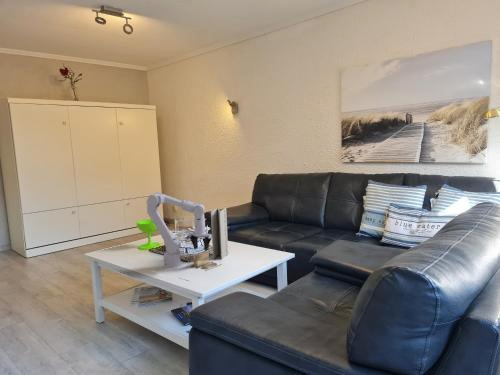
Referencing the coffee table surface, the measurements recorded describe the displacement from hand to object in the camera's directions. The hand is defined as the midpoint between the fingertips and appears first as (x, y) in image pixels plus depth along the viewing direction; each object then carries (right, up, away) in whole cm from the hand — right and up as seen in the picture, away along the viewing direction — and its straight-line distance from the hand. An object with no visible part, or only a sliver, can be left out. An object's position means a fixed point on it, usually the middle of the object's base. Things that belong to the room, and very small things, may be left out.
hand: (201, 249), depth 207 cm
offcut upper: (+5, -9, -2) cm, 11 cm away
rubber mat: (-3, -12, -14) cm, 18 cm away
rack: (+3, -10, -1) cm, 11 cm away
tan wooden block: (0, -10, +1) cm, 10 cm away
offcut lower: (+5, -10, -2) cm, 11 cm away
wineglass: (-42, -7, +48) cm, 64 cm away
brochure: (+10, -8, +17) cm, 21 cm away
